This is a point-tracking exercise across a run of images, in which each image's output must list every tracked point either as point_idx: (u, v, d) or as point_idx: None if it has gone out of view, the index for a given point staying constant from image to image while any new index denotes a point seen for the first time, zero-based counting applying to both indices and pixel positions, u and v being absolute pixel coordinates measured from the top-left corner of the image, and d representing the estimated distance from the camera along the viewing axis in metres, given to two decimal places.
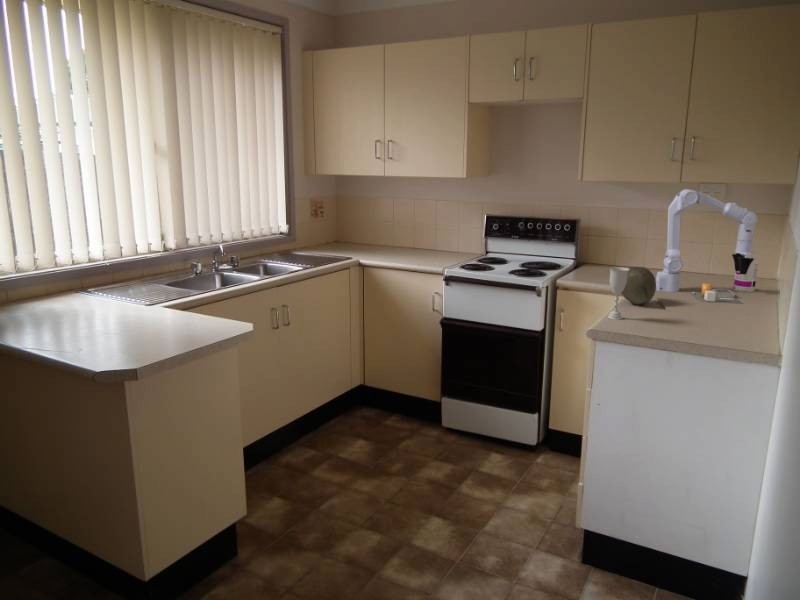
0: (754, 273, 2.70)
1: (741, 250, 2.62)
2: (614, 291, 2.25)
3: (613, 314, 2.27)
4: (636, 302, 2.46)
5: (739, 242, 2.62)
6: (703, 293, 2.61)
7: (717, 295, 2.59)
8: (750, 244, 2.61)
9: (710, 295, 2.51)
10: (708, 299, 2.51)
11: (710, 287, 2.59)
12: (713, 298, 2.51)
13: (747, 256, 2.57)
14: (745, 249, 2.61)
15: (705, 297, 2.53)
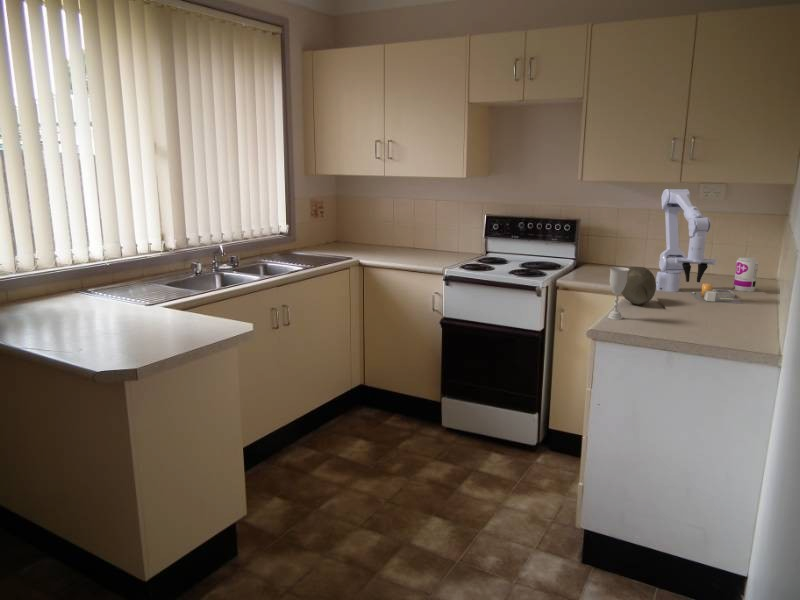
0: (754, 273, 2.70)
1: None
2: (614, 291, 2.25)
3: (613, 314, 2.27)
4: (636, 302, 2.46)
5: None
6: (703, 293, 2.61)
7: (717, 295, 2.59)
8: (691, 251, 2.49)
9: (710, 295, 2.51)
10: (708, 299, 2.51)
11: (710, 287, 2.59)
12: (713, 298, 2.51)
13: (675, 261, 2.53)
14: (688, 256, 2.51)
15: (705, 297, 2.53)
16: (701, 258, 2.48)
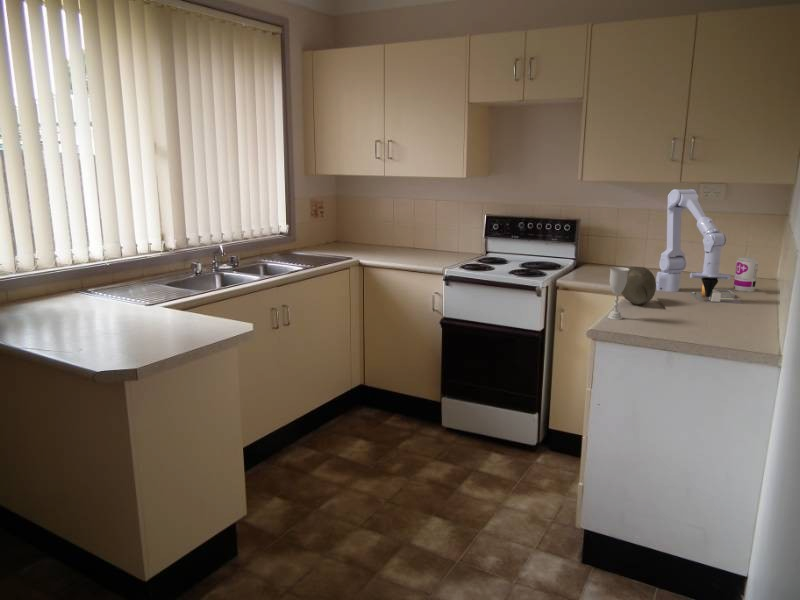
0: (754, 273, 2.70)
1: None
2: (614, 291, 2.25)
3: (613, 314, 2.27)
4: (636, 302, 2.46)
5: None
6: (703, 293, 2.61)
7: None
8: (706, 266, 2.49)
9: (715, 295, 2.50)
10: (713, 299, 2.51)
11: None
12: (718, 298, 2.50)
13: (690, 276, 2.53)
14: (703, 271, 2.51)
15: (710, 297, 2.53)
16: (716, 273, 2.48)
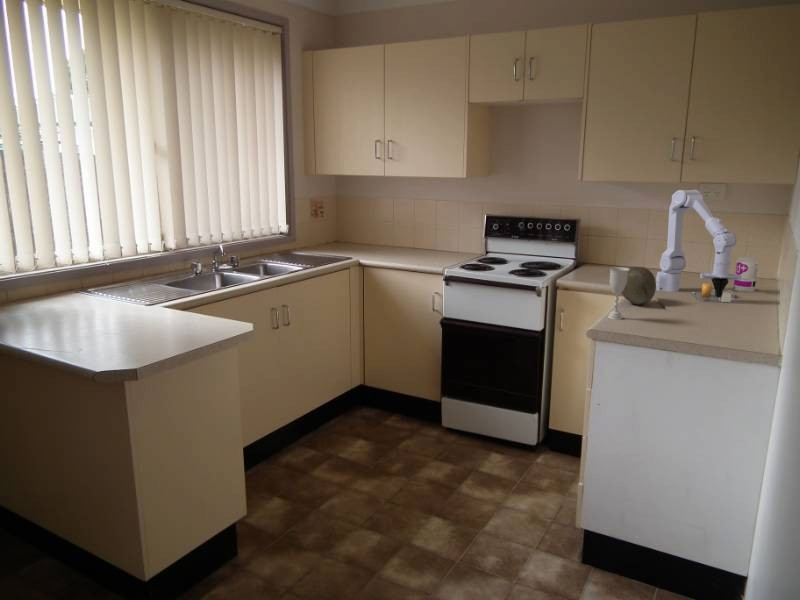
0: (754, 273, 2.70)
1: None
2: (614, 291, 2.25)
3: (613, 314, 2.27)
4: (636, 302, 2.46)
5: None
6: (703, 293, 2.61)
7: None
8: (716, 267, 2.48)
9: (725, 296, 2.50)
10: (723, 300, 2.50)
11: (710, 287, 2.59)
12: (728, 299, 2.50)
13: (700, 276, 2.52)
14: (713, 271, 2.51)
15: (720, 298, 2.52)
16: (727, 273, 2.48)
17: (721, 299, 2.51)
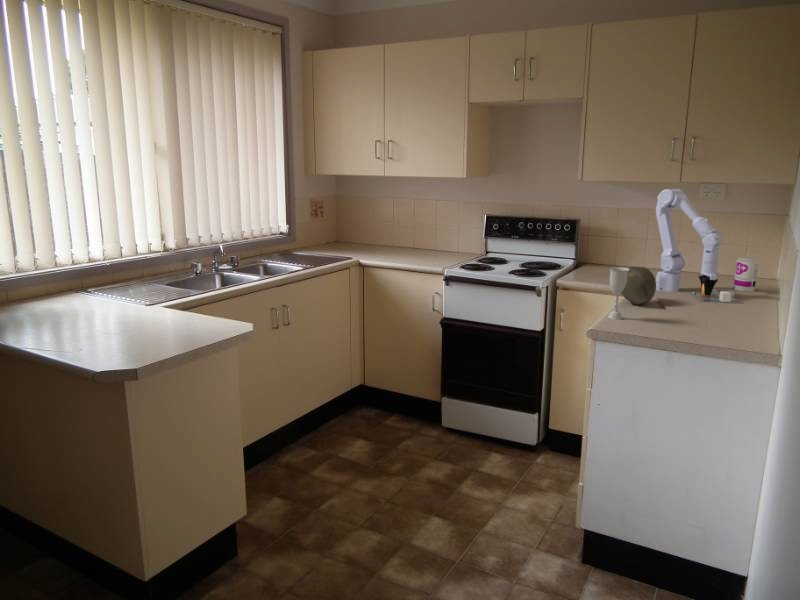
0: (754, 273, 2.70)
1: (706, 271, 2.57)
2: (614, 291, 2.25)
3: (613, 314, 2.27)
4: (636, 302, 2.46)
5: (704, 263, 2.58)
6: (703, 293, 2.61)
7: (717, 295, 2.59)
8: (715, 265, 2.56)
9: (725, 296, 2.50)
10: (723, 300, 2.50)
11: None
12: (728, 299, 2.50)
13: (712, 278, 2.53)
14: (710, 270, 2.56)
15: (720, 298, 2.52)
16: None
17: (721, 299, 2.51)
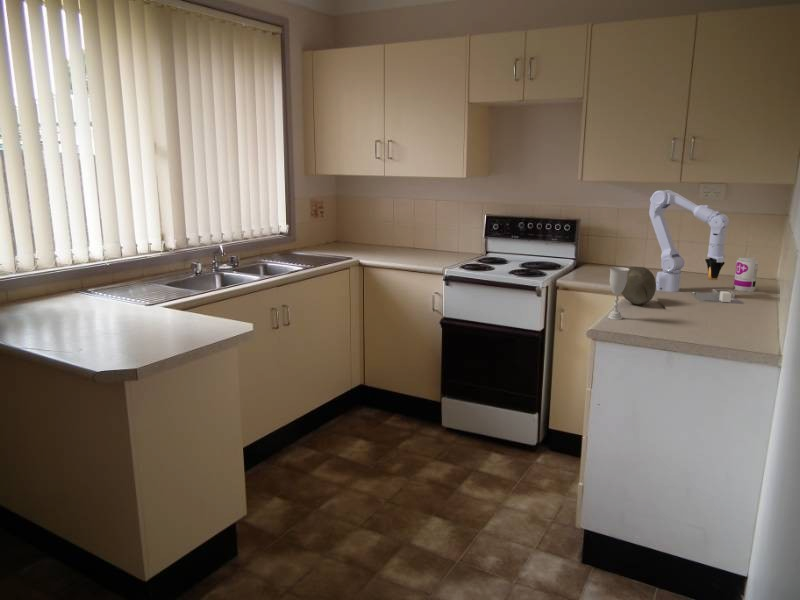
0: (754, 273, 2.70)
1: (713, 254, 2.56)
2: (614, 291, 2.25)
3: (613, 314, 2.27)
4: (636, 302, 2.46)
5: (711, 246, 2.56)
6: (710, 276, 2.59)
7: (717, 295, 2.59)
8: (722, 248, 2.55)
9: (725, 296, 2.50)
10: (723, 300, 2.50)
11: None
12: (728, 299, 2.50)
13: (719, 260, 2.51)
14: (717, 253, 2.55)
15: (720, 298, 2.52)
16: None
17: (721, 299, 2.51)
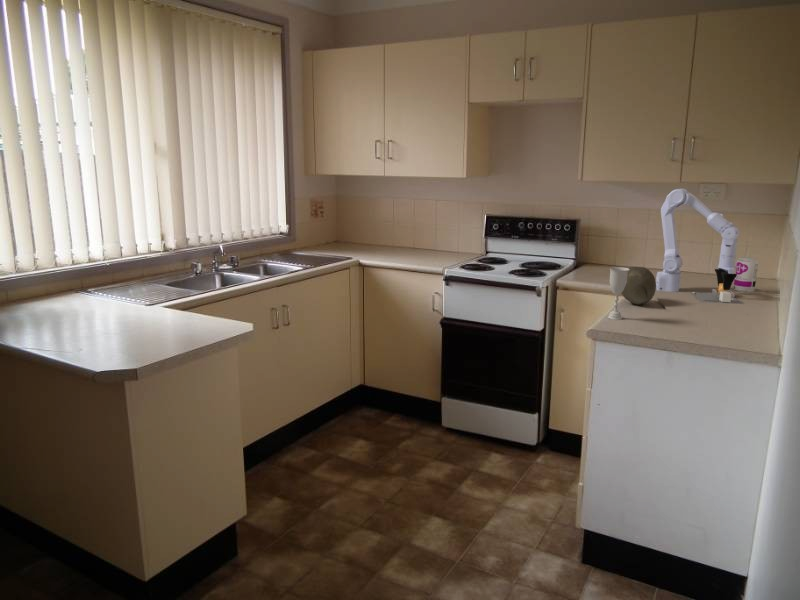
0: (754, 273, 2.70)
1: (724, 265, 2.57)
2: (614, 291, 2.25)
3: (613, 314, 2.27)
4: (636, 302, 2.46)
5: (722, 257, 2.58)
6: None
7: (717, 295, 2.59)
8: (733, 259, 2.56)
9: (725, 296, 2.50)
10: (723, 300, 2.50)
11: None
12: (728, 299, 2.50)
13: (730, 272, 2.53)
14: (728, 264, 2.57)
15: (720, 298, 2.52)
16: None
17: (721, 299, 2.51)
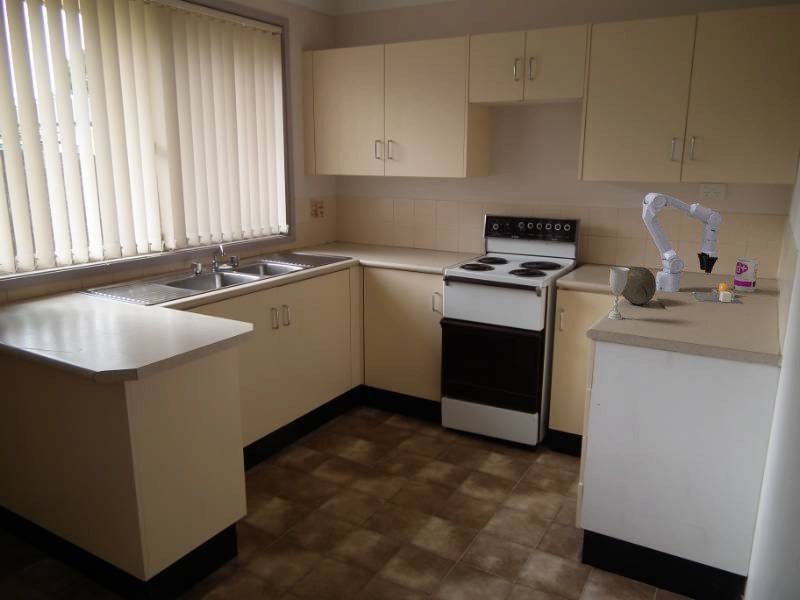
0: (754, 273, 2.70)
1: (706, 249, 2.67)
2: (614, 291, 2.25)
3: (613, 314, 2.27)
4: (636, 302, 2.46)
5: (704, 241, 2.67)
6: None
7: (717, 295, 2.59)
8: (714, 243, 2.66)
9: (725, 296, 2.50)
10: (723, 300, 2.50)
11: (727, 286, 2.60)
12: (728, 299, 2.50)
13: (711, 255, 2.62)
14: (710, 248, 2.66)
15: (720, 298, 2.52)
16: None
17: (721, 299, 2.51)
